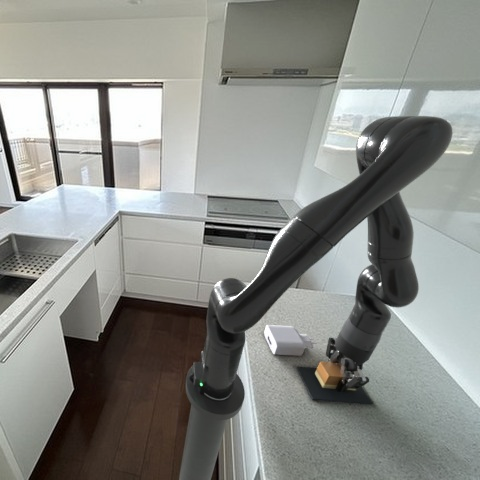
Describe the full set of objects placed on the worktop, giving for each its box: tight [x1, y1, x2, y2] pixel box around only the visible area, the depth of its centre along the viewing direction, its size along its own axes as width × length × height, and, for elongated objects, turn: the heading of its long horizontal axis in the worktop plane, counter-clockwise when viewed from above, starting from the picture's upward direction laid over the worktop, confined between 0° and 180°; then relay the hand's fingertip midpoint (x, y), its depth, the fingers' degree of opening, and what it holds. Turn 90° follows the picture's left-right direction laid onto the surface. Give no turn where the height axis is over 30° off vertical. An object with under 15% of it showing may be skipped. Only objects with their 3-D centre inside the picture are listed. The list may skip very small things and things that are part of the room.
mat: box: [296, 365, 374, 405], centre depth 73 cm, size 16×10×1 cm, turn 87°
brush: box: [315, 361, 356, 390], centre depth 71 cm, size 9×4×5 cm, turn 87°
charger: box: [263, 324, 317, 356], centre depth 84 cm, size 5×9×15 cm
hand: (334, 381), depth 72 cm, fingers closed on brush, 4 cm apart
